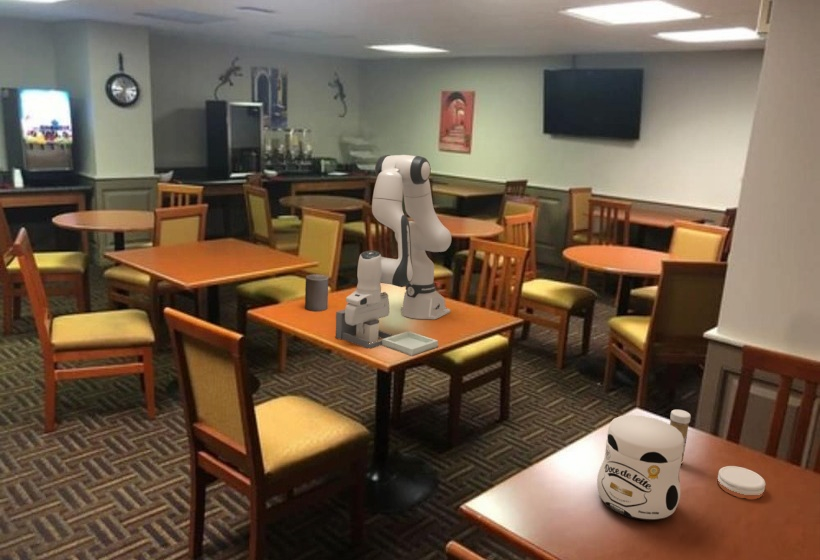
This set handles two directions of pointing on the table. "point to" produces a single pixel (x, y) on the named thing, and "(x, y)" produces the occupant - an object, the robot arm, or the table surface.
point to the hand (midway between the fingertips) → (367, 331)
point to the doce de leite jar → (641, 468)
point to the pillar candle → (316, 292)
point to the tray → (410, 343)
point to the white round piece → (741, 480)
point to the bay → (354, 332)
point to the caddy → (369, 331)
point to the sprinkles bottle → (680, 423)
